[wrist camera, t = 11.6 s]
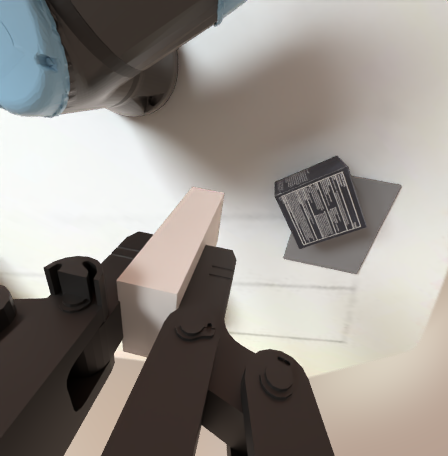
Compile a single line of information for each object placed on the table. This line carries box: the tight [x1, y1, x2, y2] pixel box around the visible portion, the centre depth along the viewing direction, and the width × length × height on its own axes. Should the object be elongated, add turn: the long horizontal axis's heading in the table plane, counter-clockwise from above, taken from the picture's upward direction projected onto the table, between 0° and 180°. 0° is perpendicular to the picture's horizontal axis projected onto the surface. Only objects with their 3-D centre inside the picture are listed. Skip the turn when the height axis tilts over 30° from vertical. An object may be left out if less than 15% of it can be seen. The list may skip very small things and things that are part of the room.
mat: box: [284, 176, 401, 274], centre depth 46 cm, size 14×18×1 cm
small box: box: [275, 156, 367, 249], centre depth 41 cm, size 11×6×10 cm
